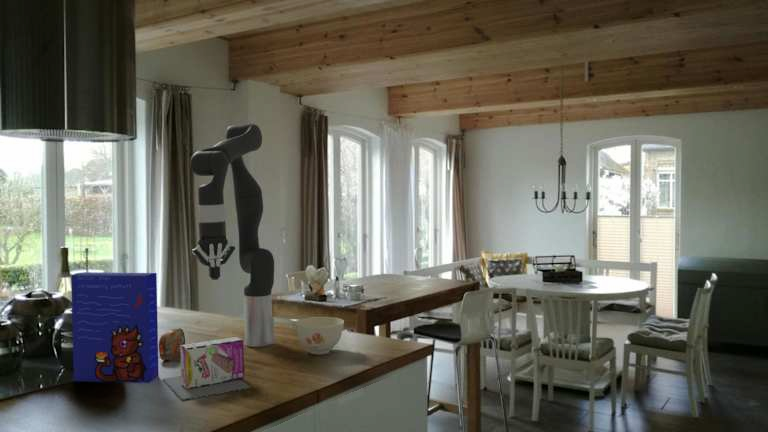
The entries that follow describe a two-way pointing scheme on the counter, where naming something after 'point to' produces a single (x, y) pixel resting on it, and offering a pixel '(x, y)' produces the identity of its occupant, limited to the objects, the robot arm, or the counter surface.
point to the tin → (171, 344)
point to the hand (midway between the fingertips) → (214, 279)
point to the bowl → (319, 333)
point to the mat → (203, 388)
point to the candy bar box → (211, 362)
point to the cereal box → (115, 327)
